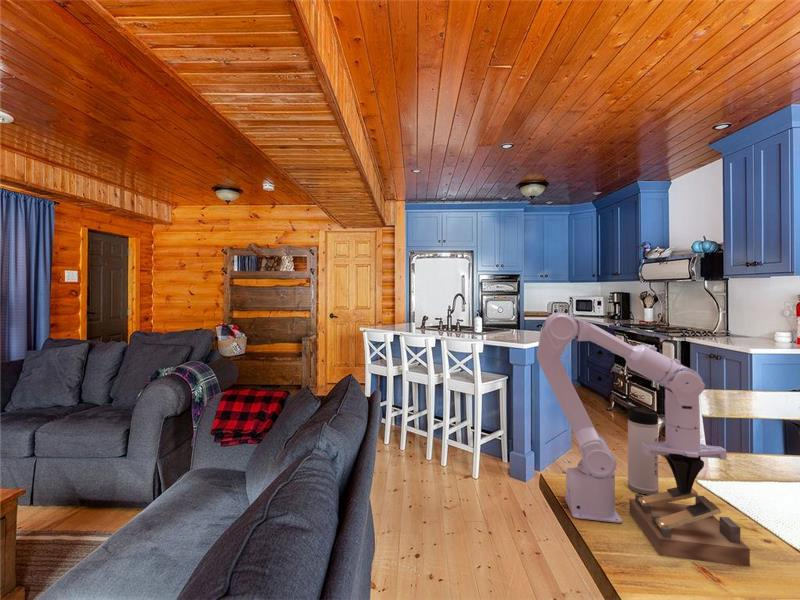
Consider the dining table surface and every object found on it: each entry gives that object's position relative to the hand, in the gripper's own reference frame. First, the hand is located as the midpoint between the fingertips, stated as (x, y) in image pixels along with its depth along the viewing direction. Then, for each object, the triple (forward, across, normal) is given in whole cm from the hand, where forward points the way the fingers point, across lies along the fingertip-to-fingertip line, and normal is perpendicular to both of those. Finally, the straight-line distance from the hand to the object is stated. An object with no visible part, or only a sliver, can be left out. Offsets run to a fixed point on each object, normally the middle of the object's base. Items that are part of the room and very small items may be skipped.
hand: (683, 491), depth 78 cm
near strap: (+1, -3, -8) cm, 9 cm away
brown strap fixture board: (+7, -2, -4) cm, 8 cm away
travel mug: (+7, -2, +15) cm, 17 cm away
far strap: (+2, -3, 0) cm, 4 cm away
